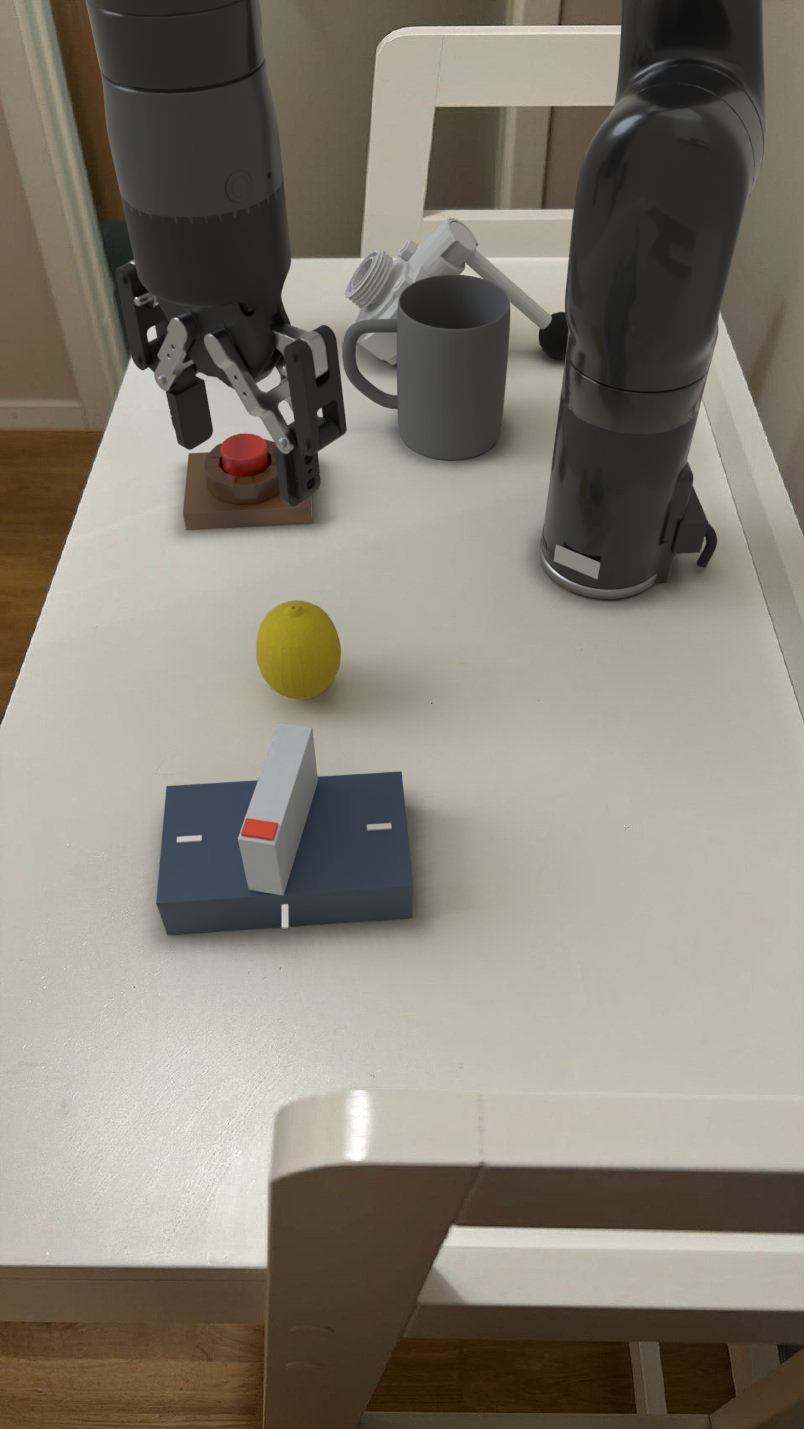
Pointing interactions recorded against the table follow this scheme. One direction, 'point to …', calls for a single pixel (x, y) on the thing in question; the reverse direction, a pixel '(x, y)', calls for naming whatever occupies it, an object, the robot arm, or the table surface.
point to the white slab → (279, 809)
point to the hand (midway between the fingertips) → (246, 468)
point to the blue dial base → (327, 867)
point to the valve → (438, 255)
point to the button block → (236, 496)
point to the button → (244, 455)
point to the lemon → (298, 649)
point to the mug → (444, 364)
